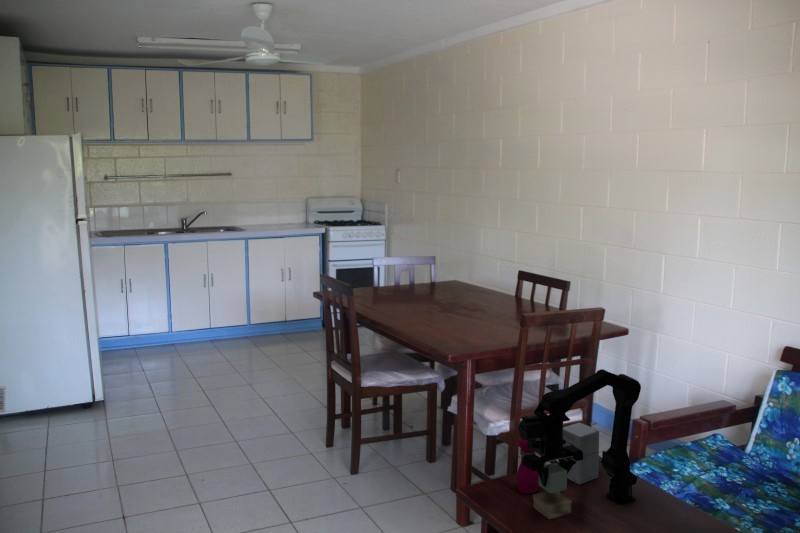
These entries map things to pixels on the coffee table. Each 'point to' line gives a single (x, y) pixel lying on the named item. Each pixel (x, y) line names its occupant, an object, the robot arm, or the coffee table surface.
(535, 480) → the pepper mill
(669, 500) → the coffee table surface
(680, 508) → the coffee table surface
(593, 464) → the supplement box
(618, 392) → the robot arm
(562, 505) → the oak box
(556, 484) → the sage block
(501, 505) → the coffee table surface
